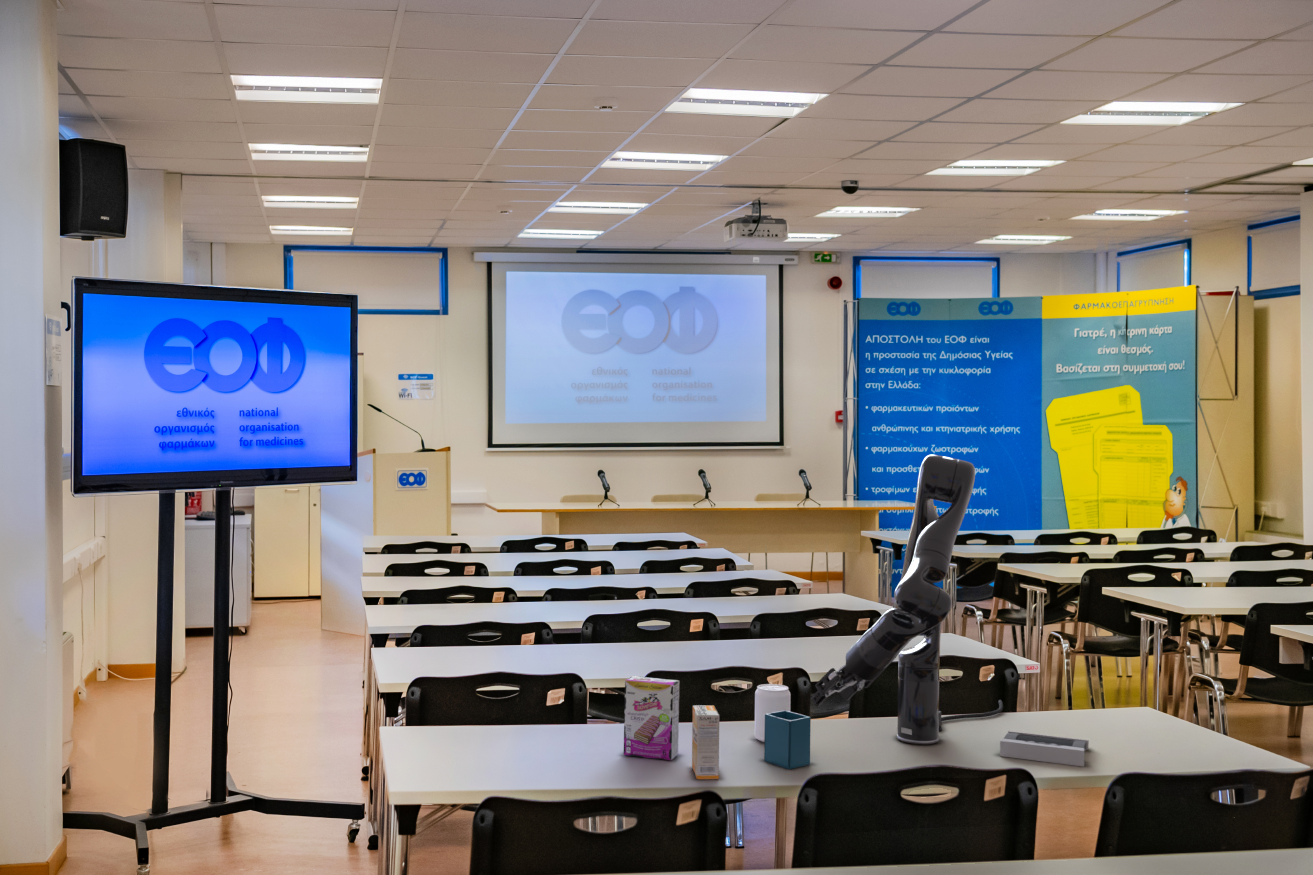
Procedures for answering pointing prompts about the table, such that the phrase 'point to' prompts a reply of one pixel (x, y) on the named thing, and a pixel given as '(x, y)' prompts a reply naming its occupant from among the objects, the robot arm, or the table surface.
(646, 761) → the table surface
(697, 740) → the supplement box
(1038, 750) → the grey slotted tray
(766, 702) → the beverage can
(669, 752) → the candy bar box
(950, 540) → the robot arm
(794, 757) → the teal rectangular box
